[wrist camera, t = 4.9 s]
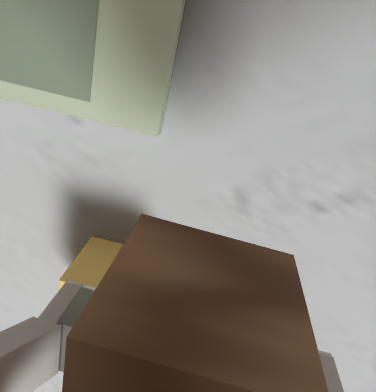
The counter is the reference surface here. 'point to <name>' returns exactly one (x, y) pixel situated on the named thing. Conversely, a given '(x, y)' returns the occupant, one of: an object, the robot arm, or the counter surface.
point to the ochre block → (91, 262)
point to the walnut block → (194, 319)
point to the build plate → (91, 58)
